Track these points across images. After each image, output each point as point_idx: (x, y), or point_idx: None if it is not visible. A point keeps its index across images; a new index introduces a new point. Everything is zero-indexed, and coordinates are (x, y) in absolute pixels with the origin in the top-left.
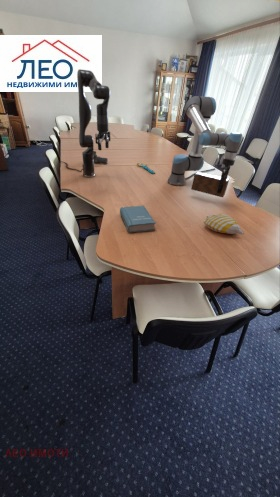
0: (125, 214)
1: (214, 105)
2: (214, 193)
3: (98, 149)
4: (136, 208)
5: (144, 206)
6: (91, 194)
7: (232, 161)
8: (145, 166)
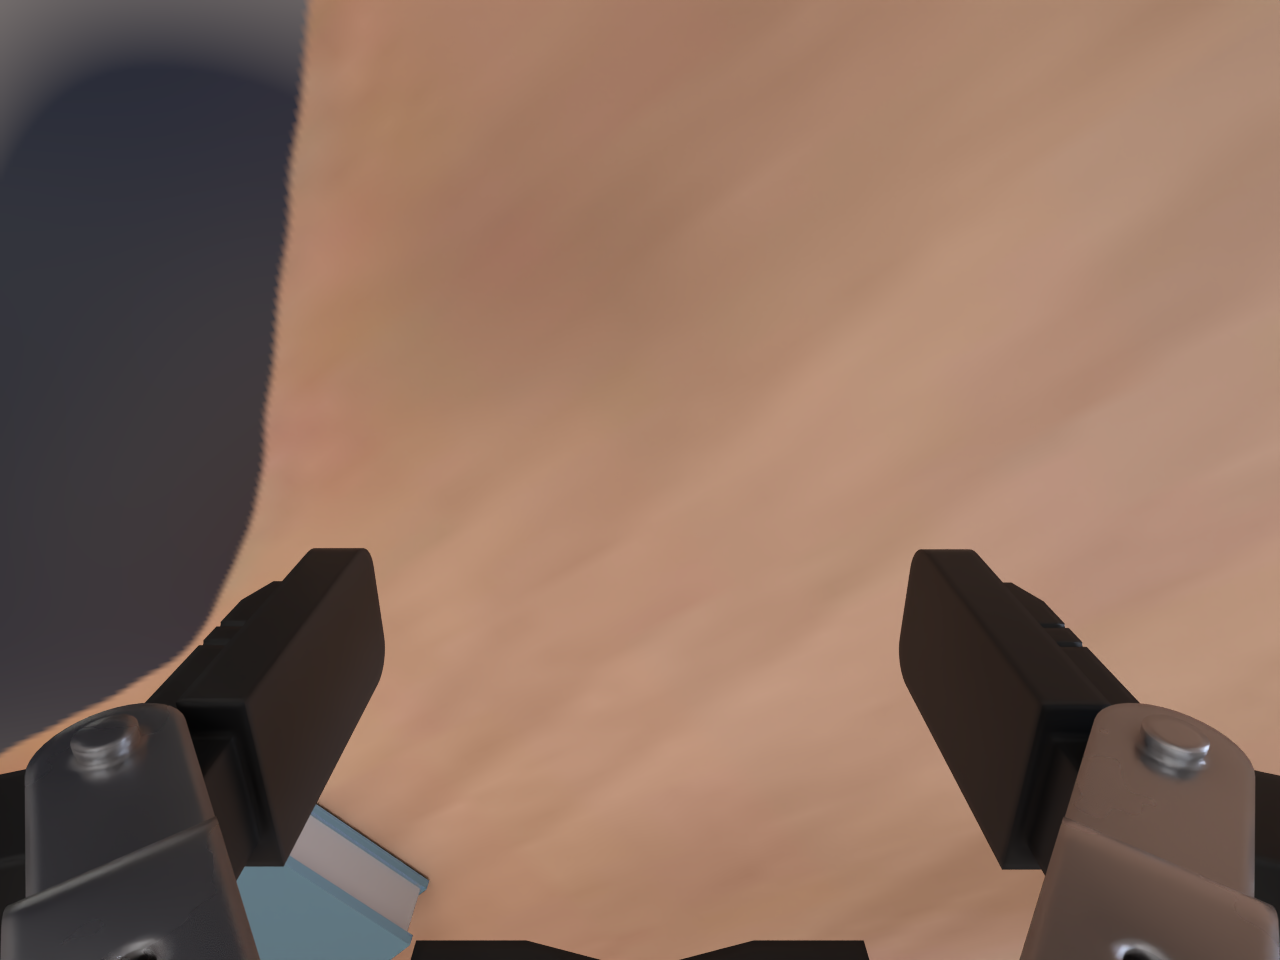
0: None
1: None
2: None
3: (314, 556)
4: (307, 923)
5: (396, 954)
6: (414, 208)
7: None
8: None
